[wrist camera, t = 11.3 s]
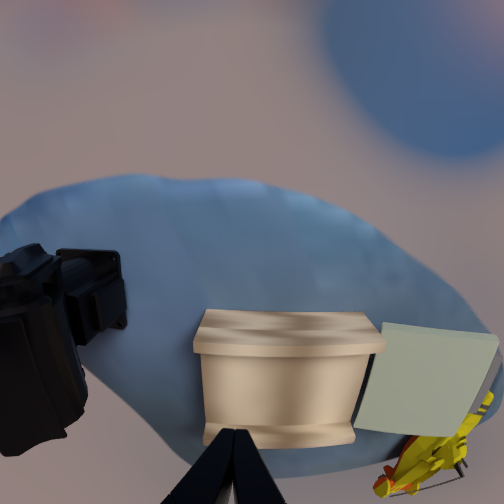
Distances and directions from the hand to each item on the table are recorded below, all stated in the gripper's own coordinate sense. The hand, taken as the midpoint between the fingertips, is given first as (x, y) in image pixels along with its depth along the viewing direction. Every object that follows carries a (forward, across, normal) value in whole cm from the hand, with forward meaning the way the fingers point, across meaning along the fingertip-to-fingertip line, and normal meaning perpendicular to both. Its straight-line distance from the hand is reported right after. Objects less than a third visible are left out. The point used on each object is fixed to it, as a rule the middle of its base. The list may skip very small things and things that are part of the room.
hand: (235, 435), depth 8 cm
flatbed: (+13, -3, +6) cm, 15 cm away
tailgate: (+11, -10, +6) cm, 16 cm away
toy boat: (+13, -22, +18) cm, 31 cm away
